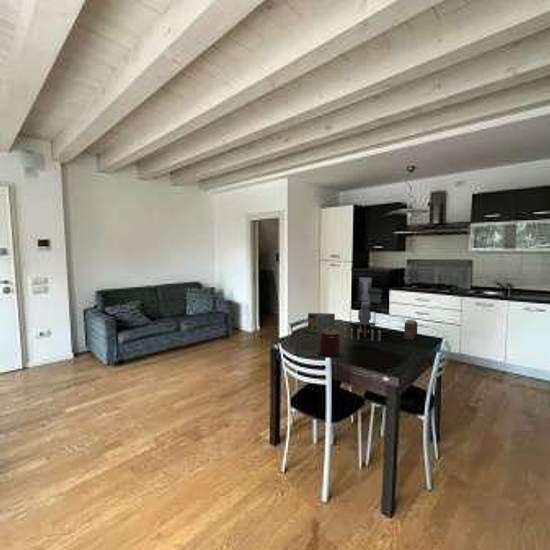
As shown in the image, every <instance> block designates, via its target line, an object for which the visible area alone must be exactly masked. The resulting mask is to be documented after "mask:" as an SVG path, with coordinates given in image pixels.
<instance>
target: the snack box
mask: <svg viewBox="0 0 550 550" xmlns="http://www.w3.org/2000/svg"><path fill="white" fill-rule="evenodd" d="M335 321H336V315H335V313H331V312H330V313H329V312H328V313H326V312H325V313H323V312H320V313H319V312H318V313H317V312H308V313H307V332H308V333H320V334H322V332H321V331H322V330H324V329H328V328H329V327H332V329H335V330H336V327H335Z"/></svg>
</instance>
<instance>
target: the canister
mask: <svg viewBox="0 0 550 550" xmlns="http://www.w3.org/2000/svg"><path fill="white" fill-rule="evenodd" d="M321 332H322V333H320V334H319V336H320V339H319V353H320V354H321V355H323V356H326V357H337V356H339V355H340V353H341V348H340V347H341V345H340V344H341V339H340V338H341V335H340V331H339V330H338V329H336V328H335V329H332V327H329V328H328V329H324V330H322V331H321Z"/></svg>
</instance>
